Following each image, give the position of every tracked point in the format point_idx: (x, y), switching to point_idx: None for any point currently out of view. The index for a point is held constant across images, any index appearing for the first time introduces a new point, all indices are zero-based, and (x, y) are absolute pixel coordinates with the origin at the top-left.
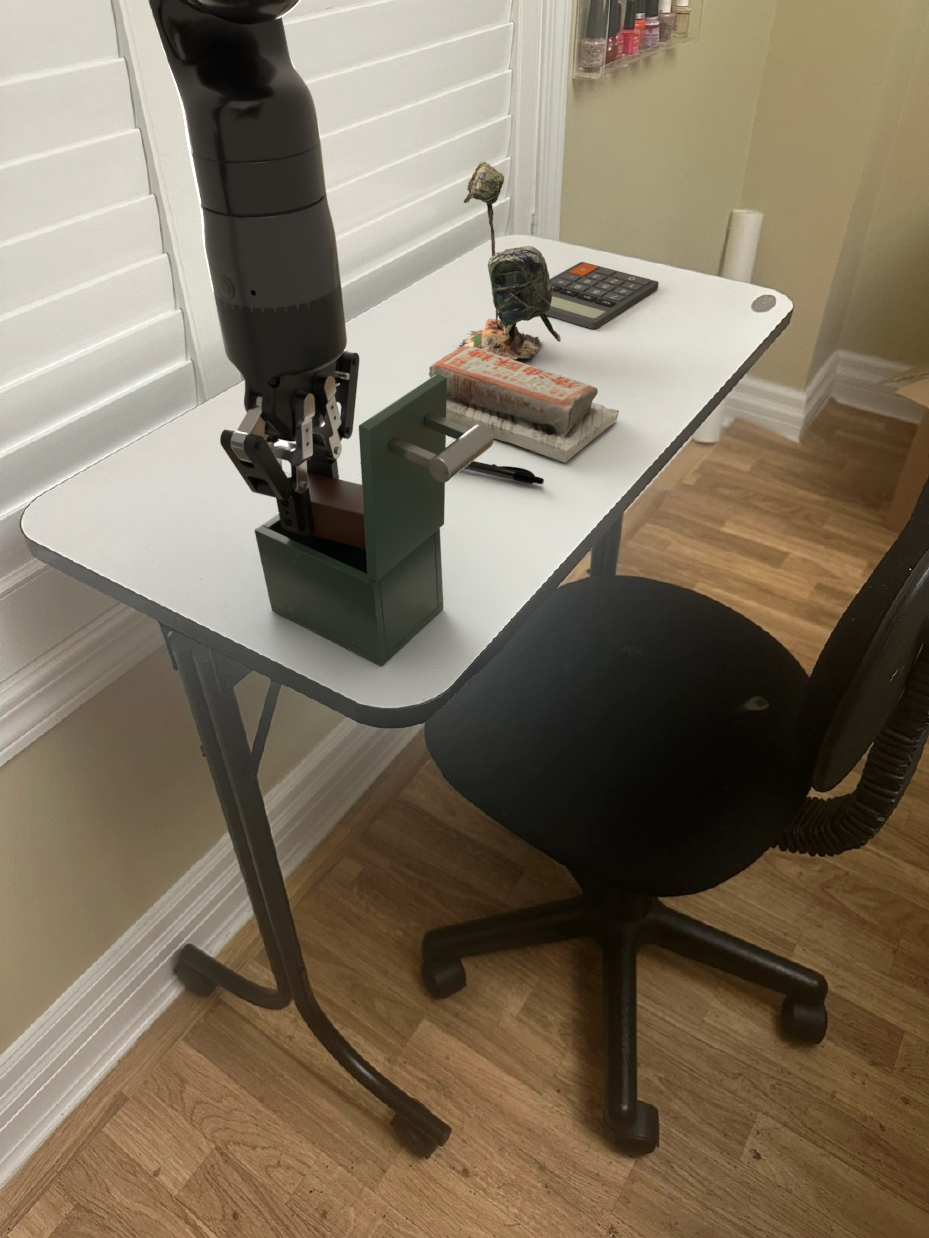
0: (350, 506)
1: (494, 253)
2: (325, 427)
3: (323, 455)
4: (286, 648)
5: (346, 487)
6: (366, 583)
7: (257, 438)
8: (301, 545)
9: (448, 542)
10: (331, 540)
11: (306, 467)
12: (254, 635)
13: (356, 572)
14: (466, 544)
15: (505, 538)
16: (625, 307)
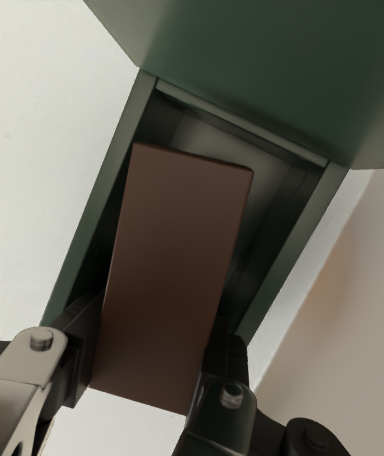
0: (213, 250)
1: None
2: (23, 429)
3: (66, 370)
4: (283, 287)
5: (135, 279)
6: (346, 173)
7: None
8: (243, 324)
9: (35, 122)
10: (106, 281)
11: (195, 415)
12: (264, 330)
13: (319, 200)
14: (34, 94)
15: (6, 35)
16: None
